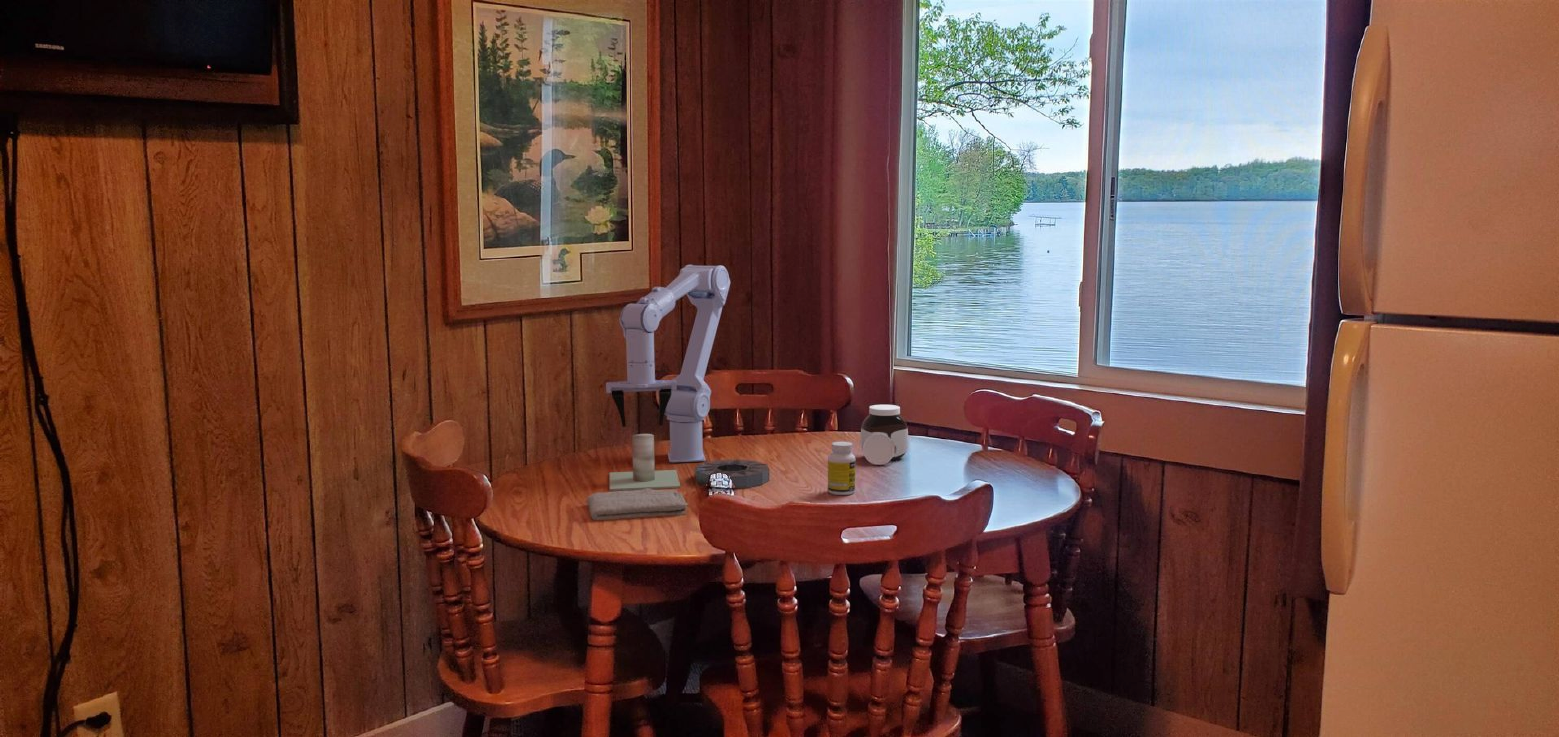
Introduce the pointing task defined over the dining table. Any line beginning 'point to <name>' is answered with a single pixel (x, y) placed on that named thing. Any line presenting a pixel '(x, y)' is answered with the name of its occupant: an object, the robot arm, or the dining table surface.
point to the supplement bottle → (841, 469)
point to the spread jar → (884, 434)
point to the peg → (643, 457)
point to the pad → (660, 482)
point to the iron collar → (734, 472)
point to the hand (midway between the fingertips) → (642, 425)
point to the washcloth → (636, 504)
